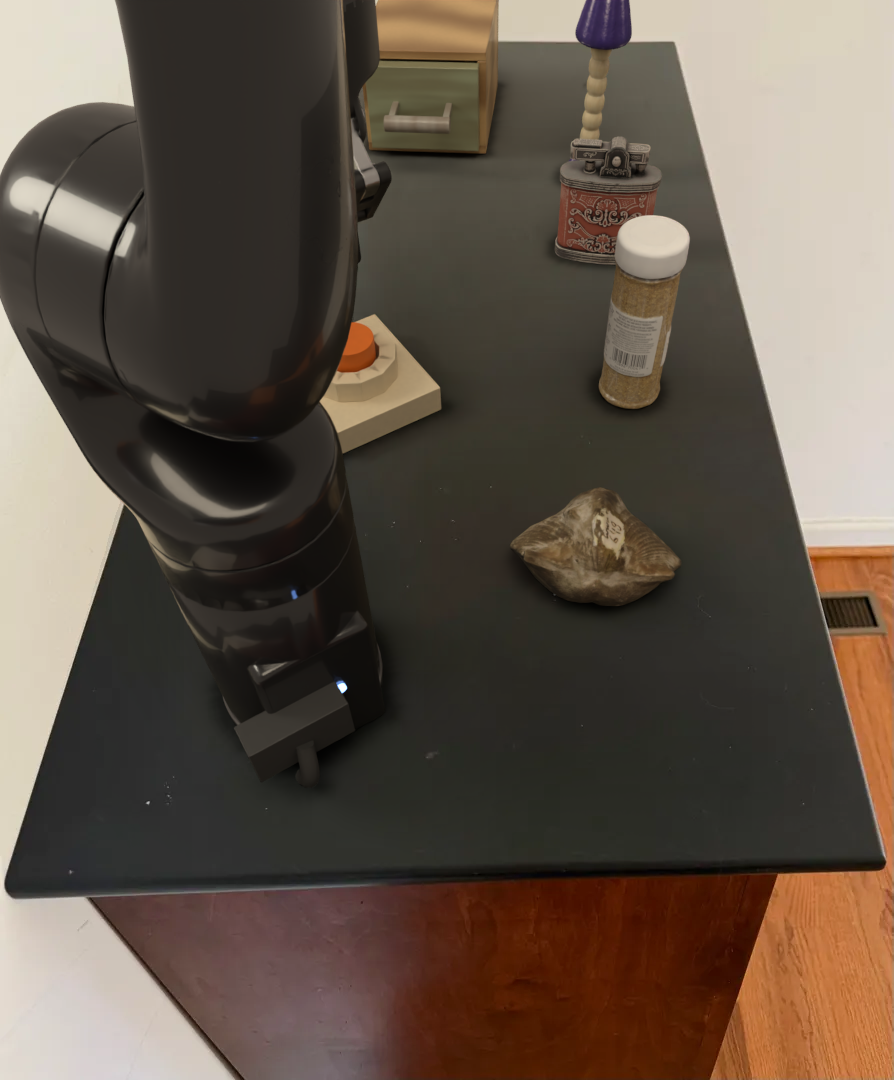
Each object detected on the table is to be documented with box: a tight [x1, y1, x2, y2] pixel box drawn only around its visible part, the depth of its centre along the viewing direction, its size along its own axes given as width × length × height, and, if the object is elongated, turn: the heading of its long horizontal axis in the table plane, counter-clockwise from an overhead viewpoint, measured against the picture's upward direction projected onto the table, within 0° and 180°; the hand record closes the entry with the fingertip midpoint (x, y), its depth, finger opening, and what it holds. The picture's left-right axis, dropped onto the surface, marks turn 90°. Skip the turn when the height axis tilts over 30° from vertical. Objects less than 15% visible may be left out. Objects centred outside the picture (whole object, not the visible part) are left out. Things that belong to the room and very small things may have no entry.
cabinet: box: [362, 0, 500, 154], centre depth 90 cm, size 14×12×10 cm
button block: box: [320, 313, 442, 454], centre depth 67 cm, size 10×9×4 cm
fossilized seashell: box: [509, 486, 682, 607], centre depth 56 cm, size 8×7×10 cm
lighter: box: [554, 136, 663, 265], centre depth 74 cm, size 8×3×10 cm, turn 80°
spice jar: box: [598, 214, 691, 410], centre depth 62 cm, size 5×5×14 cm
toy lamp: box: [568, 0, 633, 161], centre depth 79 cm, size 5×5×17 cm
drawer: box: [366, 59, 480, 151], centre depth 87 cm, size 17×10×8 cm, turn 173°
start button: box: [337, 321, 376, 373], centre depth 65 cm, size 4×4×2 cm
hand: (342, 262), depth 61 cm, fingers closed
